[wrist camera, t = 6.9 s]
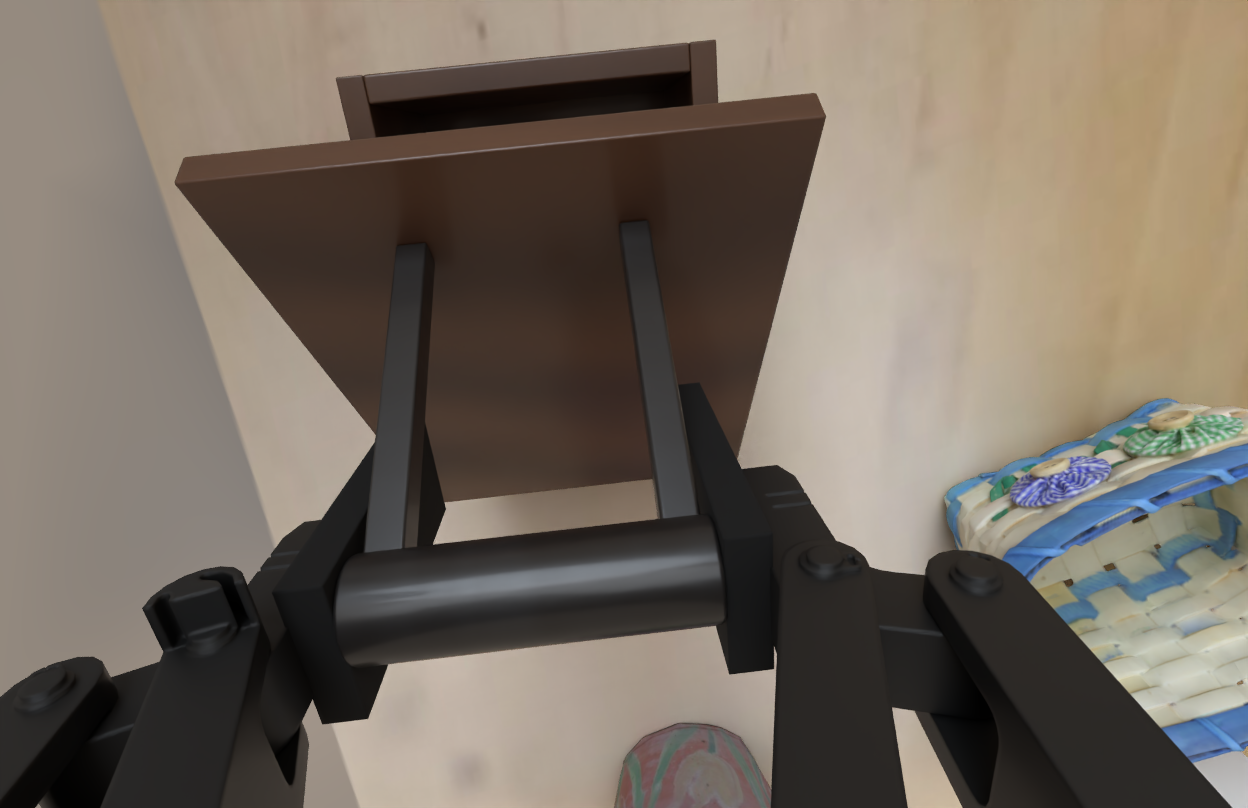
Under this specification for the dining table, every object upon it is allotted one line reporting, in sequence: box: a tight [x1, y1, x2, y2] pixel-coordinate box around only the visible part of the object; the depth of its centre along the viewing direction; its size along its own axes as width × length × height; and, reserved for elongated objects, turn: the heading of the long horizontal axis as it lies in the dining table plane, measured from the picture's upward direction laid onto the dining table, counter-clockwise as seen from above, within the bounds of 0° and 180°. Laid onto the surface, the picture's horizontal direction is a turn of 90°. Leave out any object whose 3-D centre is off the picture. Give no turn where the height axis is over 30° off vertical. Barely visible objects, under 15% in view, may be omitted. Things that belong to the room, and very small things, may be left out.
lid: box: [175, 93, 826, 668], centre depth 18 cm, size 17×13×10 cm
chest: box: [336, 40, 718, 140], centre depth 28 cm, size 16×13×9 cm
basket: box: [944, 398, 1248, 763], centre depth 29 cm, size 21×16×24 cm
